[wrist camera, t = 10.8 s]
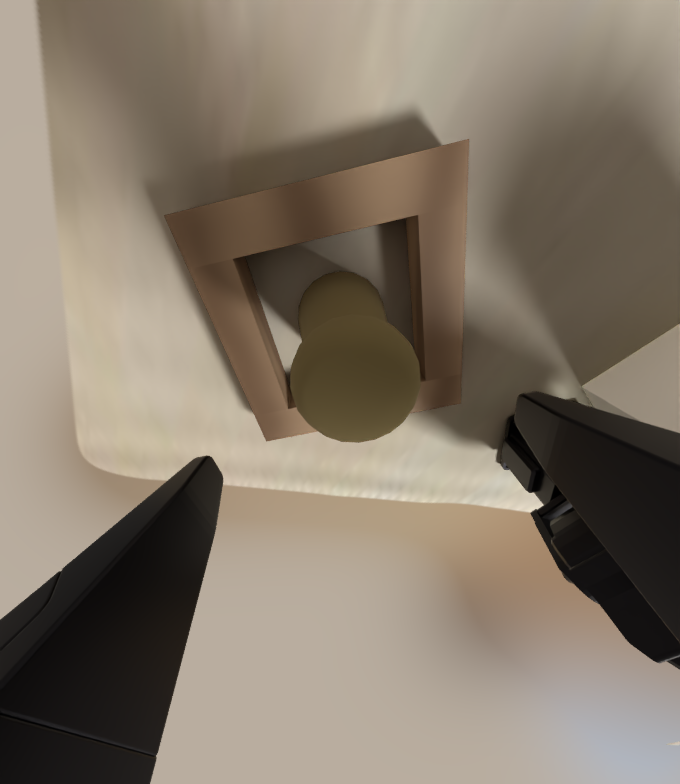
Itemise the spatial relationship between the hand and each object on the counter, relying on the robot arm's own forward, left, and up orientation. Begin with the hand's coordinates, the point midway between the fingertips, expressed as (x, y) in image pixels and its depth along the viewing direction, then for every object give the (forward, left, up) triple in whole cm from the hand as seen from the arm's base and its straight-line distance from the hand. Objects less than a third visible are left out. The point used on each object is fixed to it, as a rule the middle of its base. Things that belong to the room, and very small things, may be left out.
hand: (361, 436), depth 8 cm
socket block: (0, 0, -13) cm, 13 cm away
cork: (0, 0, -13) cm, 13 cm away
